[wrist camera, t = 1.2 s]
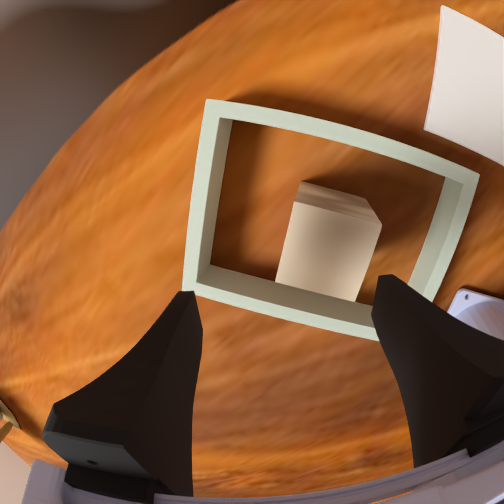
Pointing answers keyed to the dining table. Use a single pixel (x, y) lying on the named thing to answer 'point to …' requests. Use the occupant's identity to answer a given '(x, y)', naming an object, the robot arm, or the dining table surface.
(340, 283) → the ash block
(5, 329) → the dining table surface
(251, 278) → the pale grey-green open frame
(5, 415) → the hourglass
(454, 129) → the white mat
